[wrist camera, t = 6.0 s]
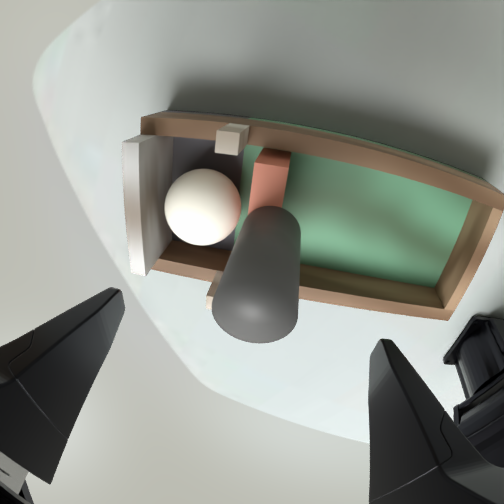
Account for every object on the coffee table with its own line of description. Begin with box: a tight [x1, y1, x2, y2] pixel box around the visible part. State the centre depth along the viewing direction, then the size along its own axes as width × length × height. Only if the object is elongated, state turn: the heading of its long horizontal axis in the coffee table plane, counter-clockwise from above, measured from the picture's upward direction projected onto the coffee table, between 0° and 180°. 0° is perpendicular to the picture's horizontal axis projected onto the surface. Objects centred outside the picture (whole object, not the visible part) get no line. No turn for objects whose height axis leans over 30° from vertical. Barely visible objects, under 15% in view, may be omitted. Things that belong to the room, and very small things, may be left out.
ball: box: [165, 169, 241, 245], centre depth 17 cm, size 4×4×4 cm
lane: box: [122, 110, 504, 321], centre depth 17 cm, size 10×22×6 cm, turn 83°
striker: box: [212, 147, 301, 343], centre depth 14 cm, size 7×3×10 cm, turn 173°
